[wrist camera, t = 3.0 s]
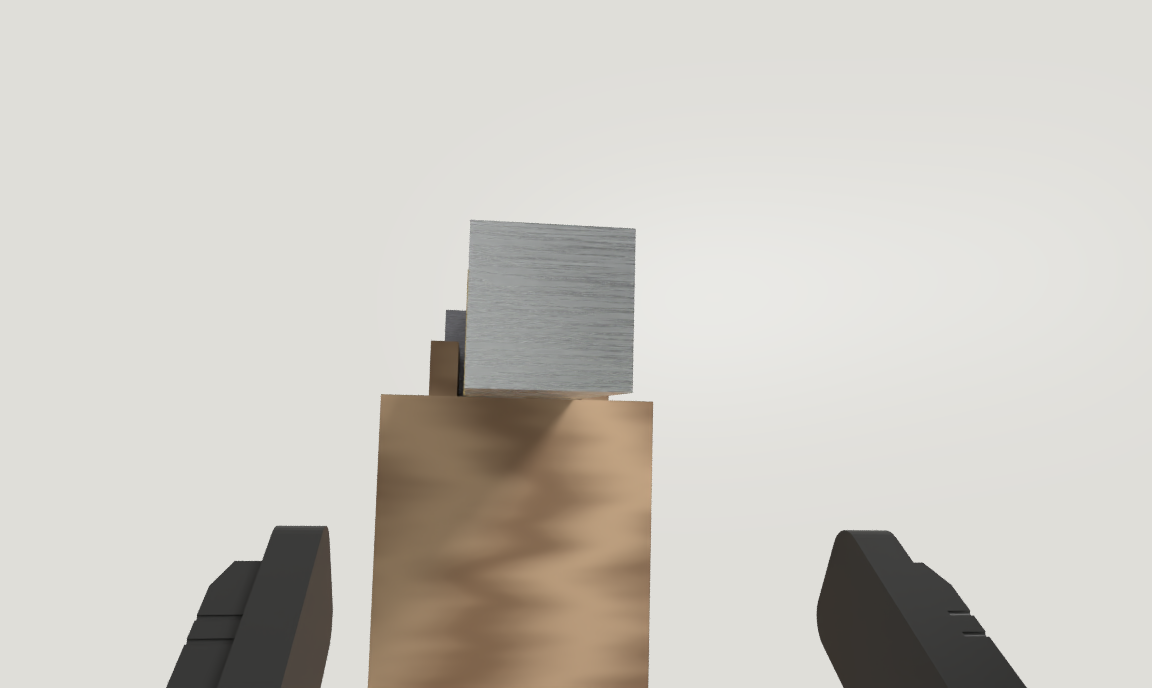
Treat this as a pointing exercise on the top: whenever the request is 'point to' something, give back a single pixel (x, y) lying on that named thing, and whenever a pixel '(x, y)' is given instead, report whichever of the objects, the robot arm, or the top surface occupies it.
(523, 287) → the grey rectangular bar
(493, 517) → the large rectangular wooden block
